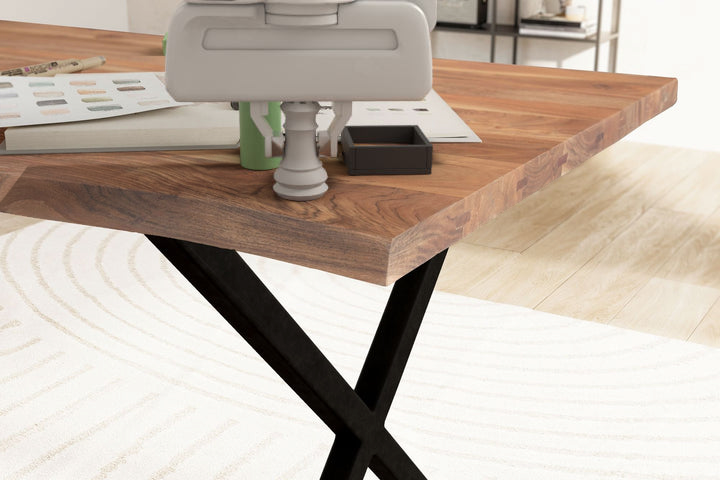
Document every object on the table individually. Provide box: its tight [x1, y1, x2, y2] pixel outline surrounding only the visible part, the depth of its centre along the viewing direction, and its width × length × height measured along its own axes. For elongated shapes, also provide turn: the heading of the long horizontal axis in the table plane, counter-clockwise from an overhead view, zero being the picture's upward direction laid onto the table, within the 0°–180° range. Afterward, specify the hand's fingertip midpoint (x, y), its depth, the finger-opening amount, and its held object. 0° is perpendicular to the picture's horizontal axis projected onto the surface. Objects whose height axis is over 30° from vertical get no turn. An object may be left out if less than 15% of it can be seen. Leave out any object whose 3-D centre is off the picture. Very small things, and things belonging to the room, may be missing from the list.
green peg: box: [238, 102, 282, 171], centre depth 77 cm, size 4×4×8 cm
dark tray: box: [340, 124, 434, 176], centre depth 79 cm, size 7×7×2 cm
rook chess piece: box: [272, 102, 329, 202], centre depth 70 cm, size 4×4×8 cm
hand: (300, 155), depth 70 cm, fingers closed on rook chess piece, 3 cm apart
